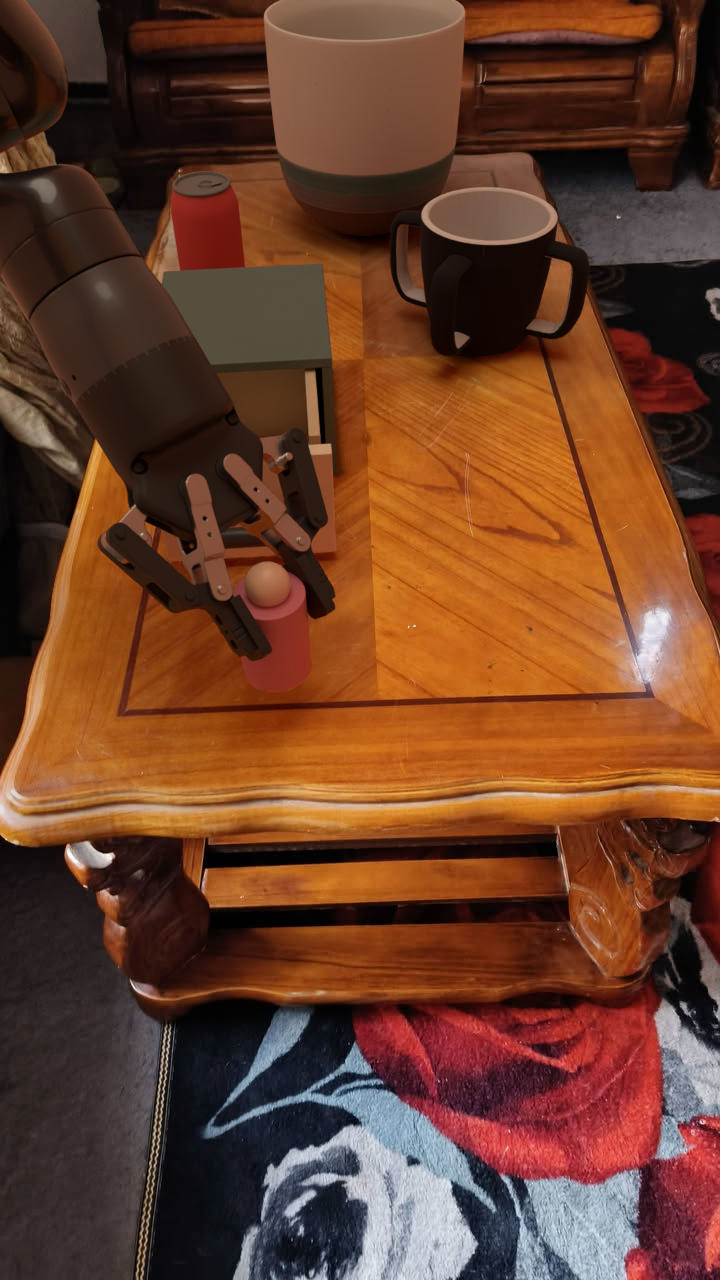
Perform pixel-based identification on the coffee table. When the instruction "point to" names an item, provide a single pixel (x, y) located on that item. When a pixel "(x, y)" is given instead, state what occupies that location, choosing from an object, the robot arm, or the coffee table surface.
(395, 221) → the mug
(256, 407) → the drawer
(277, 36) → the planter
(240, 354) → the cabinet
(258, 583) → the doll
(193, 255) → the beer can
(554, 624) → the coffee table surface
